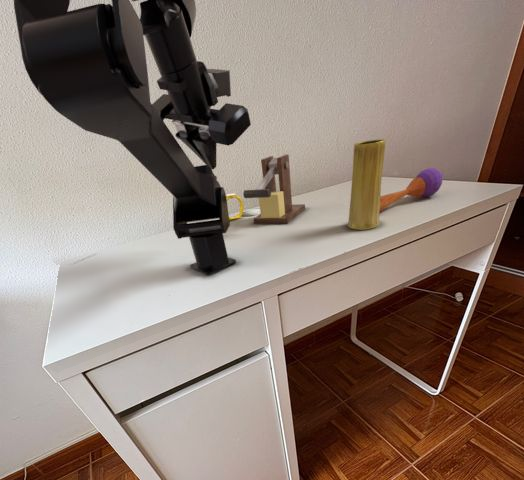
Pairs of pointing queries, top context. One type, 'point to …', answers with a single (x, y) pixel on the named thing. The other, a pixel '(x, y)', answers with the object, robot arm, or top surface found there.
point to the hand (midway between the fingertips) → (213, 167)
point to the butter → (272, 205)
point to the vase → (366, 184)
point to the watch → (239, 202)
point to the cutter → (284, 185)
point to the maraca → (416, 187)
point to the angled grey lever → (263, 182)
